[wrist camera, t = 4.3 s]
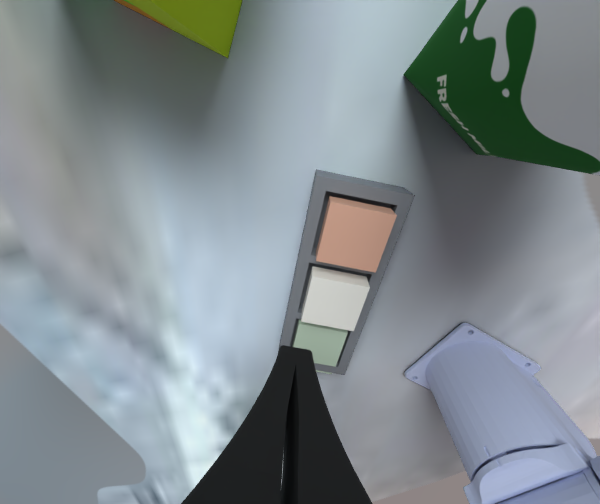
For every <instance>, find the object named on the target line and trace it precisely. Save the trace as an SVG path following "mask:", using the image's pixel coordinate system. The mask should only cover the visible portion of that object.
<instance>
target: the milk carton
mask: <svg viewBox="0 0 600 504" xmlns="http://www.w3.org/2000/svg"><path fill="white" fill-rule="evenodd" d="M404 76H405V77H406V78H407V79H408V80H409V81H410V82H411V83H412V84H413V85H414V86H415V88H416V89H417V90H418V91H419V92H420V93H421V94H422V95H423V96H424V97H425V98H426V100H427V101H428V102H429V103H430V104H431V105H432V106H433V107H434V108H435V109H436V110H437V112H438V113H439V114H440V115H441V116H442V117H443V118H444V119H445V120H446V121H447V122H448V124H449V125H450V126H451V127H452V128H453V129H454V130H455V131H456V132H457V133H458V134H459V136H460V137H461V138H462V139H463V140H464V141H465V142H466V143H467V144H468V145H469V146H470V148H471V149H472V150H473V151H474V152H475V153H476V154H479V155H487V156H495V157H502V158H507V159H513V160H518V161H524V162H529V163H535V164H540V165H546V166H551V167H556V168H562V169H567V170H573V171H578V172H584V173H589V174H595V175H600V0H458V1H457V3H456V4H455V5H454V7H453V8H452V9H451V11H450V12H449V13H448V15H447V16H446V17H445V19H444V20H443V22H442V23H441V24H440V26H439V27H438V28H437V30H436V31H435V33H434V34H433V35H432V37H431V38H430V40H429V41H428V42H427V44H426V45H425V46H424V48H423V49H422V51H421V52H420V53H419V55H418V56H417V58H416V59H415V60H414V61H413V63H412V64H411V65H410V67H409V68H408V69H407V71H406V72H405V73H404Z"/></svg>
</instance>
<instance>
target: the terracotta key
mask: <svg viewBox="0 0 600 504" xmlns="http://www.w3.org/2000/svg"><path fill="white" fill-rule="evenodd" d="M396 217H397V215H396V214H395V213H394V211H393V210H392V209H391V208H386V207H381V206H376V205H371V204H366V203H361V202H357V201H352V200H347V199H342V198H337V197H332V196H329V200H328V204H327V208H326V213H325V217H324V221H323V225H322V229H321V233H320V237H319V241H318V245H317V250H316V261H318V262H324V263H329V264H334V265H339V266H344V267H349V268H354V269H360V270H365V271H370V272H375V273H376V270H377V268H378V265H379V262H380V260H381V257H382V254H383V251H384V249H385V246H386V243H387V241H388V238H389V235H390V233H391V230H392V227H393V225H394V222H395V219H396Z"/></svg>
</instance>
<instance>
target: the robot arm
mask: <svg viewBox="0 0 600 504" xmlns="http://www.w3.org/2000/svg"><path fill="white" fill-rule="evenodd" d="M470 330H471V331H470ZM540 369H541V367H540V366H539V365H538V364H537V363H536V362H534V361H533V360H531V359H529V358H527V357H526V356H524V355H522V354H521V353H519V352H517V351H515V350H514V349H512V348H510V347H508V346H507V345H505V344H503V343H502V342H500V341H498V340H496V339H495V338H493V337H491V336H490V335H488V334H486V333H484V332H483V331H481V330H479V329H477V328H476V327H474V326H472V325H471V324H469V323H462V324H461V325H459V326H458V327H457V328H456V329H455V330H453V331H452V332H451V333H450V334H449V335H448V336H446V337H445V338H444V339H443V340H442V341H440V342H439V343H438V344H437V345H436V346H435V347H433V348H432V349H431V350H430V351H429V352H427V353H426V354H425V355H424V356H423V357H422V358H420V359H419V360H418V361H417V362H416V363H415V364H413V365H412V366H411V367H410V368H409V369H407V370H406V371H405V376H406V378H407V379H409V380H411V381H413V382H415V383H417V384H419V385H421V386H423V387H425V388H427V389H429V390H431V391H432V393H433V395H434V398H435V400H436V402H437V405H438V407H439V409H440V412H441V414H442V416H443V418H444V421H445V423H446V425H447V428H448V430H449V432H450V435H451V437H452V439H453V442H454V444H455V446H456V449H457V451H458V453H459V456H460V458H461V460H462V463H463V465H464V467H465V470H466V472H467V474H468V476H469V479H470V481H471V483H470V484H468V485H467V486H465V487H463V489H464V491H465V494H466V497H467V499H468V501H469V504H600V456H597V455H596V452H595V450H594V448H593V446H592V444H591V443H590V441H589V440H588V438H587V437H586V436H585V435H584V433H583V432H582V431H581V430H580V429H579V428H578V426H577V425H576V424H575V423H574V422H573V421H572V420H571V418H570V417H569V416H568V415H567V414H566V413H565V411H564V410H563V409H562V408H561V407H560V406H559V404H558V403H557V402H556V401H555V400H554V399H553V397H552V396H551V395H550V394H549V393H548V392H547V391H546V389H545V388H544V387H543V386H542V385H541V384H540V382H539V381H538V380H537V379H536V378H535V377H534V374H535V373H537V372H538V371H539V370H540ZM283 450H284V457H283ZM282 465H283V475H282ZM281 479H282V485H281ZM181 504H372V502H371V500H370V498H369V497H368V495H367V493H366V491H365V489H364V487H363V485H362V484H361V482H360V480H359V478H358V476H357V474H356V472H355V471H354V469H353V466H352V464H351V462H350V460H349V458H348V456H347V454H346V452H345V450H344V448H343V445H342V443H341V441H340V439H339V436H338V434H337V432H336V429H335V427H334V424H333V422H332V419H331V417H330V414H329V411H328V409H327V406H326V403H325V400H324V397H323V394H322V391H321V388H320V384H319V381H318V377H317V373H316V369H315V365H314V360H313V355H312V352H311V350H307V349H302V348H296V347H291V346H285V345H282V346H280V348H279V352H278V356H277V359H276V362H275V364H274V366H273V369H272V371H271V373H270V375H269V377H268V380H267V382H266V384H265V386H264V388H263V390H262V391H261V393H260V395H259V397H258V398H257V400H256V402H255V404H254V405H253V407H252V409H251V410H250V412H249V414H248V415H247V417H246V419H245V420H244V422H243V423H242V425H241V426H240V428H239V429H238V431H237V432H236V434H235V435H234V437H233V438H232V439H231V441H230V442H229V444H228V445H227V446H226V448H225V449H224V451H223V452H222V453H221V455H220V456H219V457H218V459H217V460H216V461H215V463H214V464H213V465H212V466H211V468H210V469H209V470H208V472H207V473H206V474H205V475H204V477H203V478H202V479H201V480H200V482H199V483H198V484H197V485H196V487H195V488H194V489H193V490H192V492H191V493H190V494H189V495H188V496H187V497H186V499H185V500H184V501H183V502H182V503H181Z"/></svg>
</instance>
